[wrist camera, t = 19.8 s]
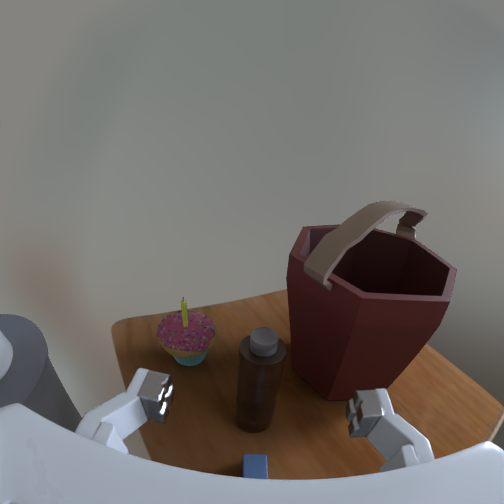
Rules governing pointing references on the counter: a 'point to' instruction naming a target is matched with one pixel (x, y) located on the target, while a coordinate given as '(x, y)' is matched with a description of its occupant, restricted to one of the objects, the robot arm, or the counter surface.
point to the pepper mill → (259, 378)
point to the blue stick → (254, 466)
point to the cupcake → (187, 335)
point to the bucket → (363, 300)
